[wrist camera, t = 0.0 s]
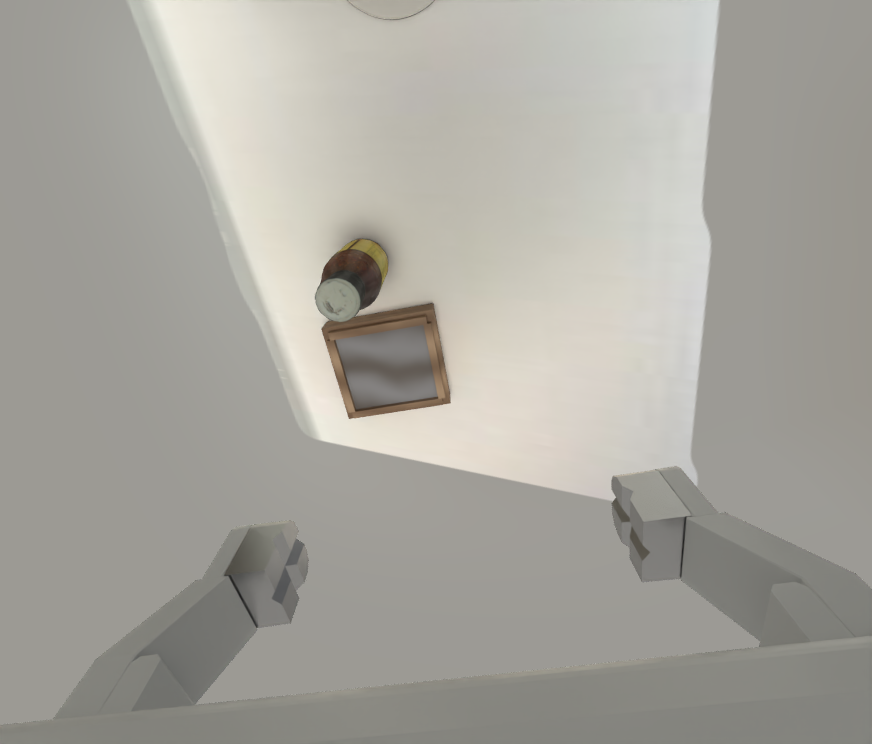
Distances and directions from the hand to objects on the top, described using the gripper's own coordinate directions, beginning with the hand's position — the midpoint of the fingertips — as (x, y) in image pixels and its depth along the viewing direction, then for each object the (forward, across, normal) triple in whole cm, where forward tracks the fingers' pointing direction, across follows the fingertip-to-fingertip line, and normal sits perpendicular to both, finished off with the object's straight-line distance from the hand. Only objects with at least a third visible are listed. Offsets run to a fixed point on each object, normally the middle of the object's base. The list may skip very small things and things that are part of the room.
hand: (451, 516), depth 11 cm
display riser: (+48, +10, +14) cm, 51 cm away
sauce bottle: (+48, +10, 0) cm, 49 cm away
